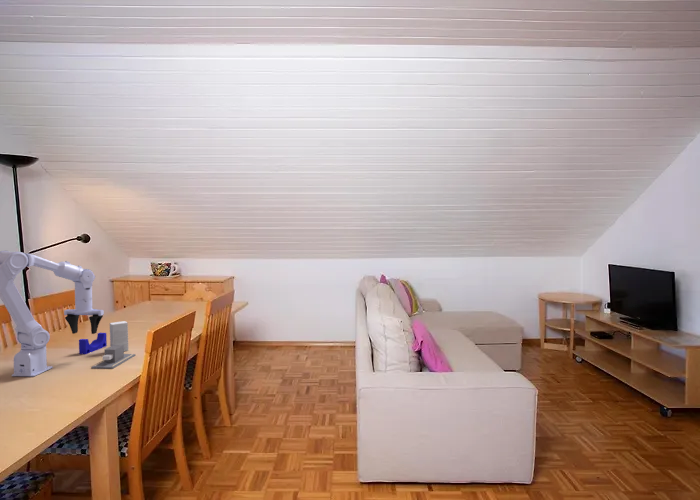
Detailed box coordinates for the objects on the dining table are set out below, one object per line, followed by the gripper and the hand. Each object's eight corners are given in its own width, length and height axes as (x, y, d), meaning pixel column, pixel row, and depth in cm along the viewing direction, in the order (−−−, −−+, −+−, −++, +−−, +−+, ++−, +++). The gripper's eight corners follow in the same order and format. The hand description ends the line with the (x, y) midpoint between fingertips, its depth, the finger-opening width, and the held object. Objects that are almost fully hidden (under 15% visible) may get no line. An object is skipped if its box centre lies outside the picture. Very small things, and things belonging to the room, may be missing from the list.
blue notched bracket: (97, 346, 185) (96, 332, 184) (106, 346, 184) (106, 332, 184) (75, 354, 173) (75, 339, 172) (85, 354, 172) (85, 340, 172)
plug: (124, 357, 166) (123, 345, 166) (111, 364, 158) (111, 351, 158) (113, 357, 166) (113, 344, 166) (100, 364, 158) (100, 351, 158)
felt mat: (112, 368, 155) (112, 366, 155) (91, 368, 155) (91, 366, 155) (135, 355, 171) (135, 353, 171) (115, 355, 171) (115, 353, 171)
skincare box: (125, 348, 181) (125, 320, 180) (128, 350, 178) (128, 322, 177) (109, 351, 177) (109, 322, 176) (112, 353, 174) (111, 324, 173)
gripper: (107, 297, 170) (108, 330, 171) (72, 297, 170) (73, 330, 171) (97, 300, 163) (98, 335, 164) (60, 300, 163) (60, 334, 164)
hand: (84, 333), depth 167 cm, fingers open, 7 cm apart
